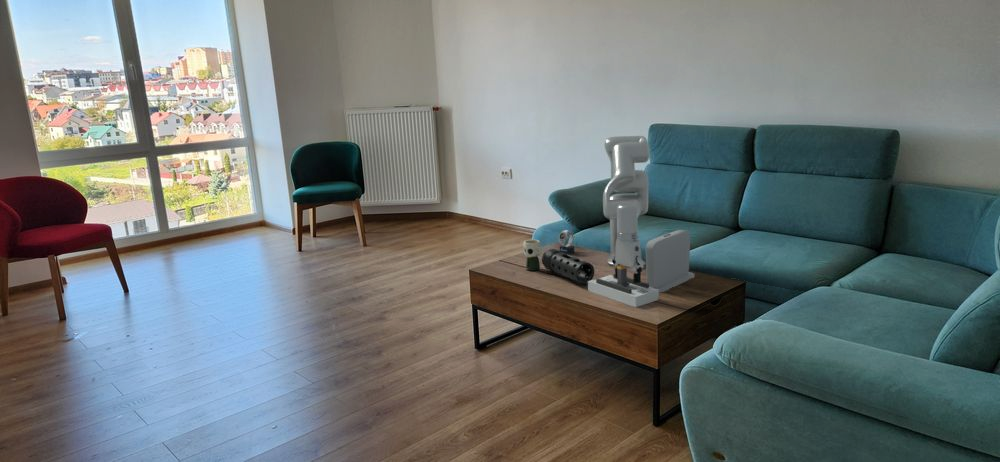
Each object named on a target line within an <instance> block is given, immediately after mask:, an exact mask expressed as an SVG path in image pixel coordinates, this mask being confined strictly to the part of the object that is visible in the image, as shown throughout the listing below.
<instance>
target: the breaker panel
mask: <svg viewBox="0 0 1000 462" xmlns="http://www.w3.org/2000/svg"><path fill="white" fill-rule="evenodd" d="M596 279H602V280H605V281H608V282H611V283H614V284H615V283H617V279H615V278H613V275H611V274H609V275H605V276H602V277H597V278H595V279H592V280H591V281H588V283H587V290H588V292H591V293H593V294H596V295H599V296H602V297H605V298H608V299H611V300H613V301H617V302H619V303H622V304H625V305H628V306H631V307H633V308H638V307H641V306H644V305H647V304H650V303H654V302H655V301H659V293H658V289H654V288H651V287H649V288H644V287H640V286H637V285H634V284H631V283H630V285H627V286H624V287H627V288H630V289H632V293H631V294H628V293H625V292H622V291H619V290H616V289H613V288H610V287H607V286H604V285H601V284H598V283H596ZM627 283H628V282H627Z"/></svg>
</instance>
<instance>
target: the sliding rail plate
mask: <svg viewBox="0 0 1000 462" xmlns="http://www.w3.org/2000/svg"><path fill="white" fill-rule="evenodd" d="M612 276H613V278H615V279H617V278H616V277H615V273H613V275H612ZM595 279H596V283H598V284H601V285H604V286H607V287H610V288H613V289H616V290H619V291H622V292H625V293H628V294H631V293H632V289H630V288H627V287H623V286H620V285H617V284H614V283H611V282H608V281H605V280H602V279H598V278H595ZM627 282H628V283H631V284H634V285H637V286H640V287H644V288H649V284H648V283H647V282H644V281H642V280H641V282H639V283H636V284H635V283H634V282H633V278H631V277H628V276H627Z"/></svg>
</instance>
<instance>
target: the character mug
mask: <svg viewBox="0 0 1000 462" xmlns="http://www.w3.org/2000/svg"><path fill="white" fill-rule="evenodd" d="M522 246H523V247H522V248H523V249H522V250H523V254H524V256H525V257H526V263H525V264H526V265H525V270H528V271H537V270H539V269H540V268H541V265H540V259H539V256H540V255H542V247H541V241H540V240H538V239H527V240H524V241H523V244H522Z"/></svg>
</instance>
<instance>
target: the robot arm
mask: <svg viewBox="0 0 1000 462" xmlns="http://www.w3.org/2000/svg"><path fill="white" fill-rule="evenodd" d="M604 150H605V152H606V154H607V156H608V158H609V161H610V180H609V182H608V183H607V185H606V186H605V188H604V191H603V194H602V208H603V210H602V211H603V216H604V217H605V218H606V219H608V220H609V225H610V226H609V227H610V229H609V233H610V238H609V239H610V258H608V259H606V260H607V262H606V263H607V264H608V265H610V266H613V267H614V270H615V271H614V272H615V273H614V274H615V277H616V278H617V266H619V265H624V266H627V268H631V269H632V270H633V276H632V277H633V278H632V279H633V282H634V283H635V284H636V283H639V282H641V281H642V278H641V275H642V274H641V273H643V271H644V270H645V268H646V261H644V260H643V258H642V249H641V243H640V240H639V238H640V237H639V235H638V234H639V233H638V224H639V223H638V218H639V216H642V215H646V214H647V212H648V210H649V176H648V173H647V172H646V171H645V170H642V169H635V167H636V166H635V164H639V163H641V164H643V163H644V164H645V163H647V162H648V161H649V159H650V152H651V151H650V145H649V142H648V139H647V137H645V136H643V135H629V136H626V135H624V136H623V135H621V136H620V135H619V136H610V137H607V138H606V139H605V141H604ZM614 192H616V193H615V194H613V193H614Z"/></svg>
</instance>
